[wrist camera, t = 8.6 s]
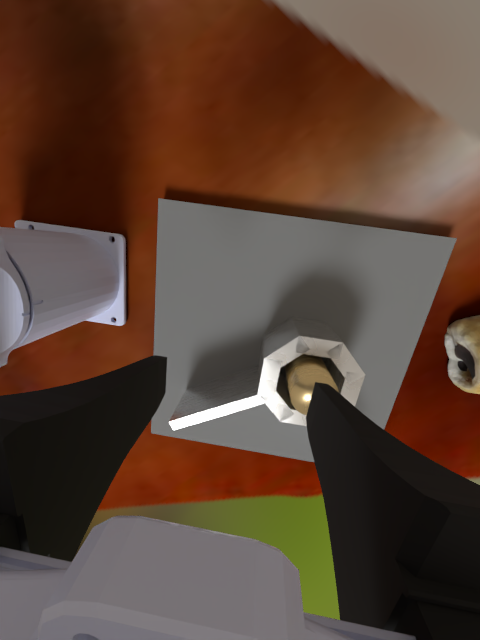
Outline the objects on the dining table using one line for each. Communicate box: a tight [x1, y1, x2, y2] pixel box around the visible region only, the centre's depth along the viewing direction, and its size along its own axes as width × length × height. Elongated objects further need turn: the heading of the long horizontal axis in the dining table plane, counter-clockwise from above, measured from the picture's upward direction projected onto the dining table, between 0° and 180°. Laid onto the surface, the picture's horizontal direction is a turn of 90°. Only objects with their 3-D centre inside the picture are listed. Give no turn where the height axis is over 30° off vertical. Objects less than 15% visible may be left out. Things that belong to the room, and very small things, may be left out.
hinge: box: [169, 317, 365, 430], centre depth 20 cm, size 16×13×4 cm
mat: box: [151, 198, 457, 462], centre depth 21 cm, size 22×22×1 cm
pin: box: [284, 354, 339, 416], centre depth 18 cm, size 3×3×6 cm
